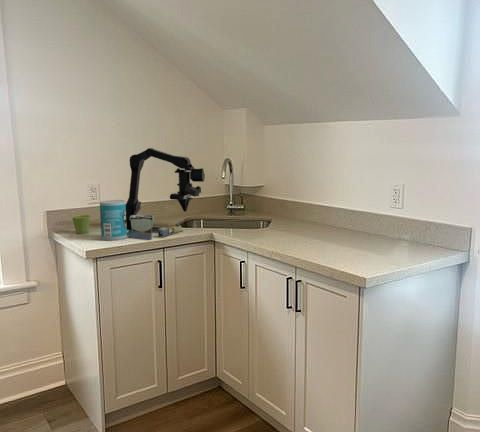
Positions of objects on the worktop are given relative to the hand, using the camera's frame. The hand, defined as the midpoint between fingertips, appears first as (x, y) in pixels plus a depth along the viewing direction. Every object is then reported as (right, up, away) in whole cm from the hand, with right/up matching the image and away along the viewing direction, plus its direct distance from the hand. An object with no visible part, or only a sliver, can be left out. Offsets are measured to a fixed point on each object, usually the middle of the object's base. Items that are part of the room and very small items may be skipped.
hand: (185, 211), depth 253 cm
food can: (-32, -13, -18) cm, 39 cm away
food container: (-19, -12, -10) cm, 25 cm away
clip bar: (-4, -11, -5) cm, 13 cm away
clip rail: (-6, -12, -10) cm, 17 cm away
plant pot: (-52, -11, -4) cm, 54 cm away
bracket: (-17, -12, -12) cm, 24 cm away
